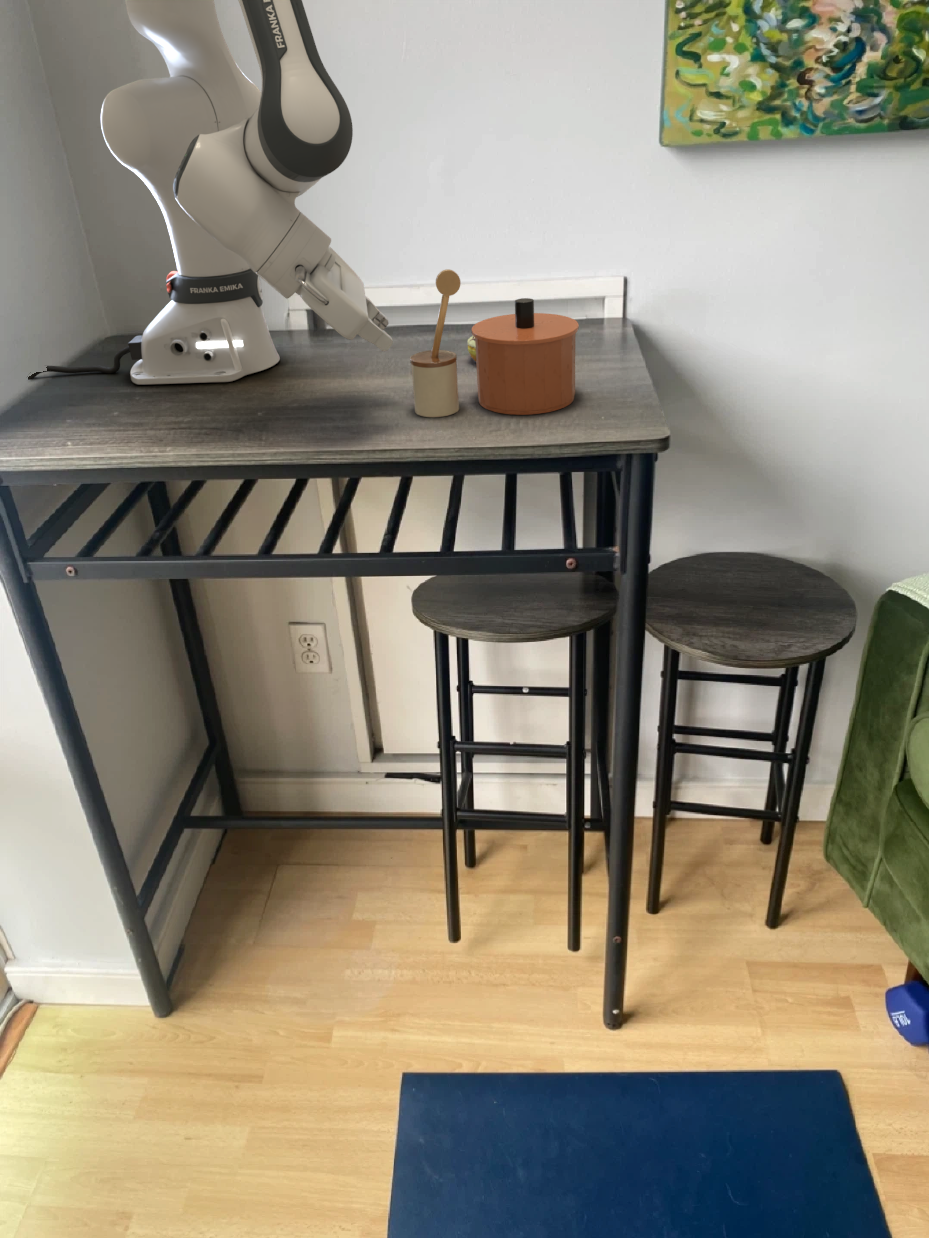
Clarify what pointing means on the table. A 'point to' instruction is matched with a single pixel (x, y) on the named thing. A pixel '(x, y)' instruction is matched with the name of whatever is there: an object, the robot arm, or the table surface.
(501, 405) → the pot
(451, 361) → the crock
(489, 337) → the pot lid
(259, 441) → the table surface
